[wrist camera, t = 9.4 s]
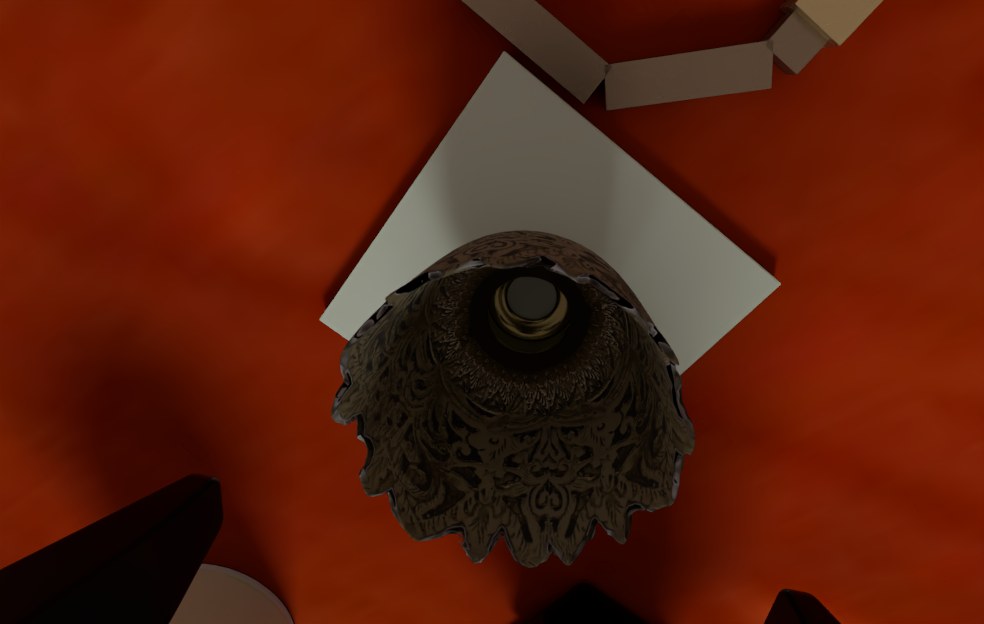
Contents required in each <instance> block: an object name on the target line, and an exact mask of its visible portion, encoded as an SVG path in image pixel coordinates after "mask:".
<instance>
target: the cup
mask: <svg viewBox="0 0 984 624" xmlns="http://www.w3.org/2000/svg"><path fill="white" fill-rule="evenodd" d="M521 277H534V278H539V279H542V280H545V281H547V282H549V283H551V284H552V285H553V286H554V288H555V291H556V304H555V306H554V308H553V310H552V311H551V312H550V313H549V314H548V315H546V316H544V317H542V318H539V319H526V318H523V317H520V316H519V315H517V314H516V313H515V312H514V311H513V310H512V309H511V307H510V305H509V303H508V297H507V295H508V290H509V287H510V285H511V284H512V282H513V281H514V280H515V279H517V278H521ZM385 300H386V302H385V303H384V304H383V305H382V306H381V307H380V308H379V309H378V310H377V311H376V312H374V313H373V314H372V315H371V316H370V317H369V319H368V320H367V321H365V323H364V324H363V325H362V326H361V327H360V328H359V329H358V330H357V332H356V333H355V334H354V335H353V336H352V338H351V339H350V340H349V342H348V343H347V344H346V346H345V348H344V349H343V351H342V354H341V358H340V369H341V373H342V375H343V381H344V382H343V384H342V385H341V387H340V388H339V390H338V391H337V393H336V396H335V399H334V403H333V406H332V412H331V416H332V419H333V420H334V421H335V422H337V423H341V424H344V425H346V424H350V422H351V421H355V420H356V421H357V436H358V437H357V438H358V439H359V440H361V441H363V442H364V443H365V445H366V447H367V449H368V453H367V458H366V461H365V464H364V466H363V468H362V469H361V470H360V473H359V477H360V480H361V483H362V486H363V489H364V492H365V493H366V494H367V496H377V495H381V494H384V493H387V494H388V497H389V500H390V506H391V510H392V512H393V514H394V516H395V518H396V519H397V521H398V522H399V523H400V525H401V526H402V527H403V528H404V530H405V531H406V532H407V533H408V534H409V536H410V537H411V538H412V539H414V540H415V541H426V540H431V539H435V538H439V537H442V536H444V535H447V534H459V537H462V536H463V540H464V541H463V545H462V543H461V542H460V541H459V543H460V544H461V545H462V548H463V547H464V548H463V549H464V550H465V552H466V554H467V556H468V557H470V559H471V560H472V562H473V563H481V562H482V561H483V560H484V558H485V557H486V556H488V553H489V552H491V551H492V550H493V547H494V545H495V544H496V543H497V541H498V540H499V538H500V537H504V538H505V540H506V543H507V546H508V548H509V550H510V552H511V554H512V555H513V557H514V559H515V561H517V562H518V563H520V564H521V565H523V566H525V567H528V568H530V567H537V566H538V565H539V564H540V563H543V562H545V561H547V560H548V558H549V555H550V554H551V553H552V551H553V553H554V555H555V556H556V555H557V556H558V557H559V558H560V559H561V561H562V562H563V563H564V564H566V565H568V566H569V565H571V564H572V563H573V562H574V560H575V559H576V558H577V556H578V555H579V554H580V552H581V551H582V549H583V547H584V546H585V544H586V542H587V541H589V540H591V539H593V537H594V534H595V530H596V525H597V523H600V524H601V525H602V527H603V528H604V529H605V530H606V531H607V533H608V535H610V536H612V537H613V538H614V539H615V540H616V541H617V542H618V543H620V544H624V543H625V542H626V540H627V538H628V535H629V532H630V527H631V521H632V515H633V512H635V511H637V510H648V511H650V512H653V511H655V510H658V509H660V508H662V507H666V506H671V505H672V504H673V503H674V501H675V499H676V496H677V493H678V489H679V483H680V475H681V470H682V468H683V460H684V455H685V454H691V453H692V451H693V449H694V445H695V434H694V429H693V424H692V421H691V420H690V418H689V417H688V415H687V412H686V409H685V407H684V404H683V402H682V393H681V386H682V380H681V377H680V375H679V373H678V371H677V369H676V365H678V366H679V361H678V359H677V357H676V355H675V353H674V351H673V350H672V348H671V347H670V345H669V344H668V342H667V341H666V339H665V338H664V337H663V335H662V334H661V333H660V332H659V330H658V329H657V327H656V326H655V324H654V322H653V321H652V319H651V318H650V316H649V315H648V313H647V311H646V310H645V308H644V307H643V305H642V304H641V302H640V301H639V299H638V298H637V296H636V295H635V293H634V292H633V291H632V289H631V288H630V287H629V286H628V284H627V283H626V282H625V281H624V280H623V278H622V277H621V276H620V275H619V274H618V273H617V272H616V271H615V270H614V269H613V268H612V267H611V266H610V265H609V264H608V263H607V262H606V261H605V260H603V259H602V258H601V257H599V256H598V255H597V254H596V253H594V252H593V251H591V250H589V249H588V248H586V247H584V246H583V245H581V244H579V243H576V242H574V241H572V240H570V239H567V238H564V237H561V236H558V235H555V234H550V233H545V232H539V231H528V230H522V231H506V232H499V233H495V234H491V235H487V236H484V237H481V238H478V239H476V240H473V241H471V242H468V243H466V244H464V245H462V246H460V247H458V248H456V249H455V250H453V251H451V252H450V253H448V254H447V255H445V256H444V257H442V258H441V259H439V260H438V261H436V262H435V263H433V264H432V265H431V266H429V267H428V268H427V269H425V270H424V271H423V272H421V273H420V274H419V275H417V276H416V277H415V278H413V279H412V280H411V281H409V282H408V283H407V284H405V285H404V286H402V287H400V288H398V289H397V290H395V291H393V292H392V293H390V294H389V295H388V296H387V297H386V298H385ZM354 416H356V418H355V417H354ZM345 423H346V424H345ZM459 532H461V533H462V536H461V535H460V533H459ZM500 532H503V533H504V535H505V536H504V535H503V534H501V535H499V533H500ZM498 535H499V536H498ZM497 536H498V537H497ZM496 538H497V539H496ZM495 539H496V540H495ZM494 540H495V542H494ZM493 542H494V543H493ZM492 543H493V544H492Z"/></svg>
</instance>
